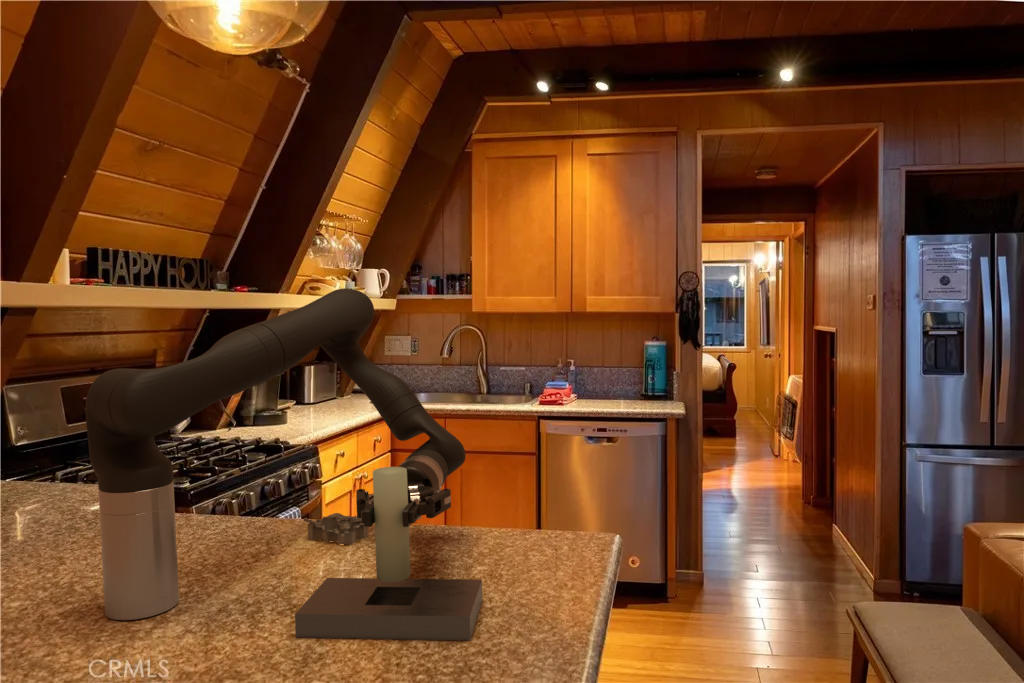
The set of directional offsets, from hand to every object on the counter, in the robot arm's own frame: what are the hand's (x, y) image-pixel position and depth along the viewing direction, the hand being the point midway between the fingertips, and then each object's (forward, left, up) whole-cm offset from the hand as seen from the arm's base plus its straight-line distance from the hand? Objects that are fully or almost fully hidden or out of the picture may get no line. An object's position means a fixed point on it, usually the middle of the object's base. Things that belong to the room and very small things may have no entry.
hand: (386, 519), depth 93 cm
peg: (-2, +2, -8) cm, 9 cm away
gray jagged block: (-38, +14, -14) cm, 43 cm away
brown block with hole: (-2, +2, -14) cm, 14 cm away
